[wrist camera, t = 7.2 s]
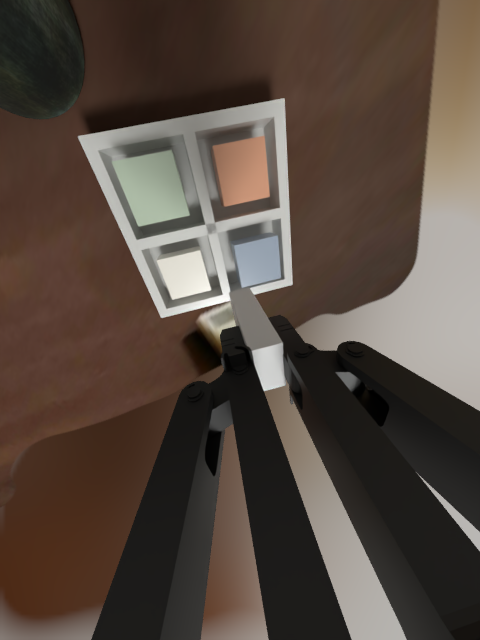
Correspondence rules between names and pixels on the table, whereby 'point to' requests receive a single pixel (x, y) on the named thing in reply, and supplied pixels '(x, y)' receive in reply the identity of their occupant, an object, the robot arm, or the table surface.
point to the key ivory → (184, 272)
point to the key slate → (256, 259)
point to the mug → (39, 58)
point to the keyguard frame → (200, 197)
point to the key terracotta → (241, 170)
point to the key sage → (152, 187)
